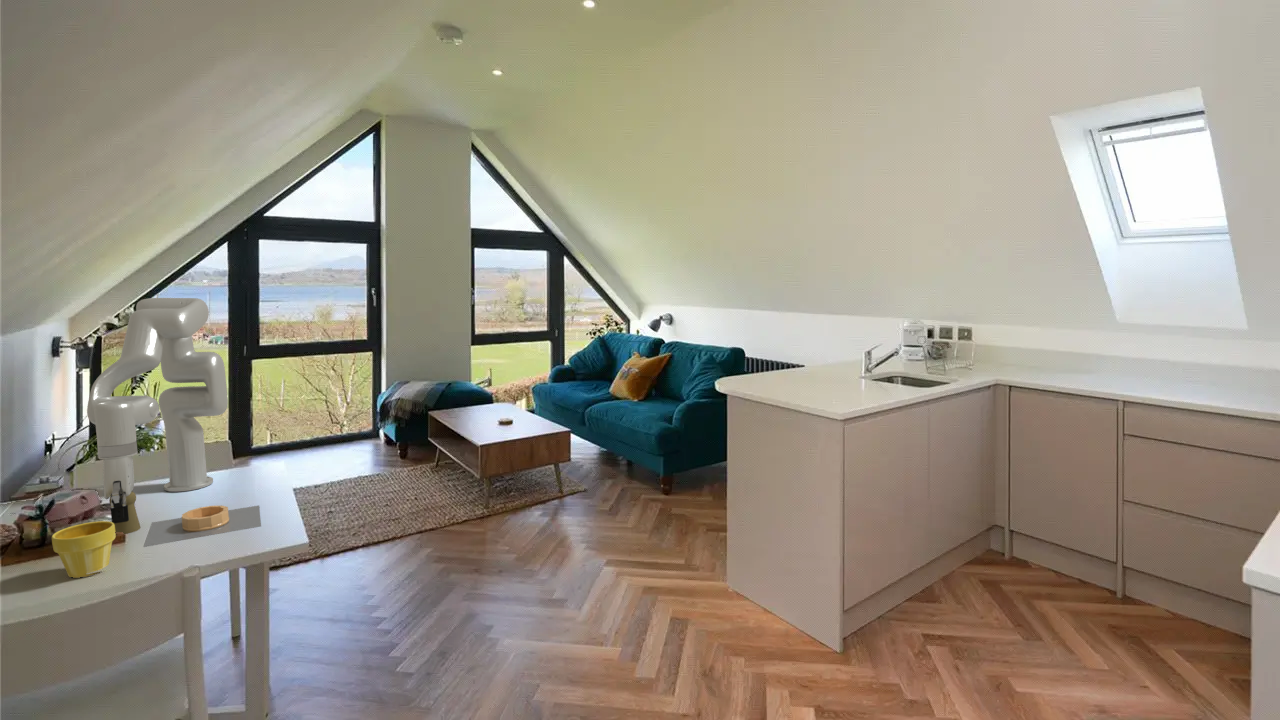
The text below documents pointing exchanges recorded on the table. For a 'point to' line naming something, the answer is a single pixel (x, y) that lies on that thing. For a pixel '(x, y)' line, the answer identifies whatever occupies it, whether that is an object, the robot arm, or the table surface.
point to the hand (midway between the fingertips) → (123, 516)
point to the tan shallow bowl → (205, 518)
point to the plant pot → (84, 547)
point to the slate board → (174, 531)
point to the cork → (133, 520)
